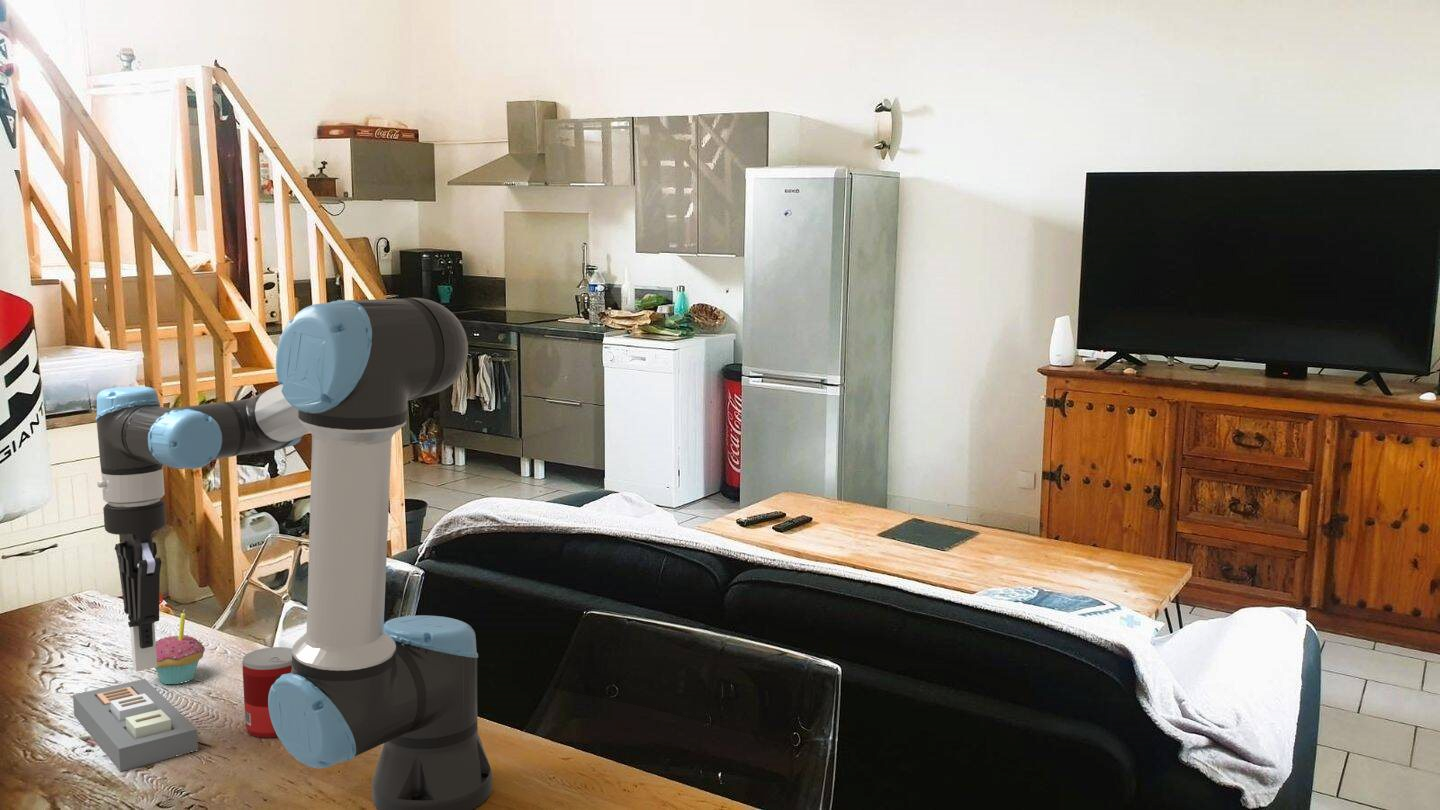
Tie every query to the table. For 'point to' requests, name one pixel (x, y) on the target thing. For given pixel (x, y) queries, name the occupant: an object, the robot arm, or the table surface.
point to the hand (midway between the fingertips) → (145, 667)
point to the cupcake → (178, 656)
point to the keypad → (120, 742)
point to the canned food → (262, 686)
